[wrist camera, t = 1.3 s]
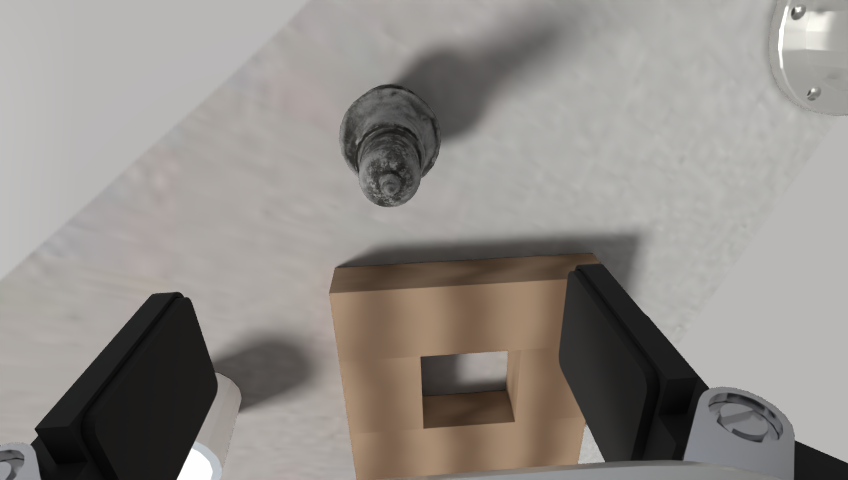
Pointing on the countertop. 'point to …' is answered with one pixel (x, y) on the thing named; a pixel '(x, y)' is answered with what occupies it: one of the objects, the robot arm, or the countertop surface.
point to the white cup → (214, 435)
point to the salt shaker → (389, 143)
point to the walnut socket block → (455, 334)
